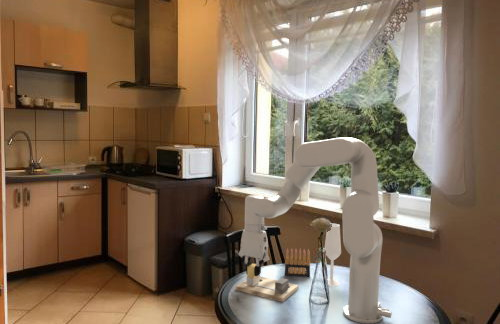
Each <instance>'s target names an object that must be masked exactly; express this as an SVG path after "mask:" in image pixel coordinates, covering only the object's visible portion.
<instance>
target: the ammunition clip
mask: <svg viewBox="0 0 500 324" xmlns="http://www.w3.org/2000/svg"><path fill="white" fill-rule="evenodd" d="M289 251H290V252H289ZM284 277H292V278H293V277H295V278H297V277H299V278H311V252H310V249H309V248H308V249H307V251H306V249H305V248H303V251H302V249H301V247H300V248H299V250H298V249H297V248H295V249H294V250H293V248H292V247H291V248H290V250H289V248H288V247H287V248H286V251H285V261H284Z"/></svg>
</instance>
